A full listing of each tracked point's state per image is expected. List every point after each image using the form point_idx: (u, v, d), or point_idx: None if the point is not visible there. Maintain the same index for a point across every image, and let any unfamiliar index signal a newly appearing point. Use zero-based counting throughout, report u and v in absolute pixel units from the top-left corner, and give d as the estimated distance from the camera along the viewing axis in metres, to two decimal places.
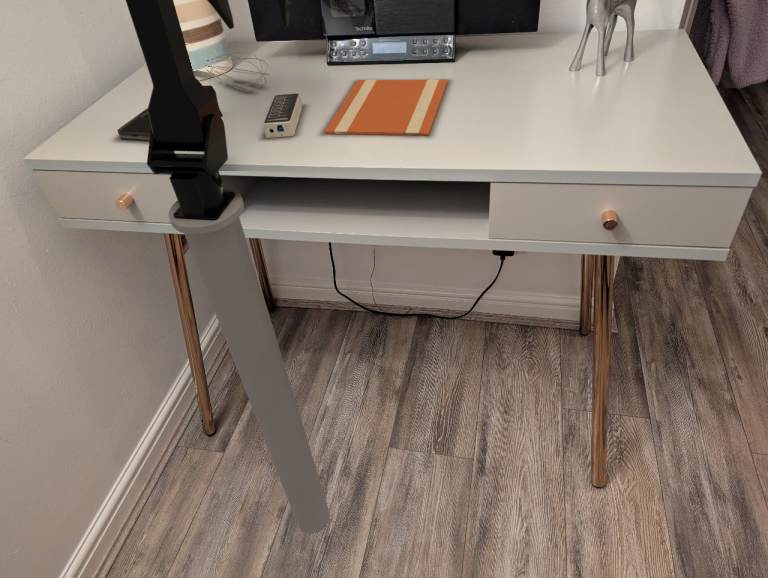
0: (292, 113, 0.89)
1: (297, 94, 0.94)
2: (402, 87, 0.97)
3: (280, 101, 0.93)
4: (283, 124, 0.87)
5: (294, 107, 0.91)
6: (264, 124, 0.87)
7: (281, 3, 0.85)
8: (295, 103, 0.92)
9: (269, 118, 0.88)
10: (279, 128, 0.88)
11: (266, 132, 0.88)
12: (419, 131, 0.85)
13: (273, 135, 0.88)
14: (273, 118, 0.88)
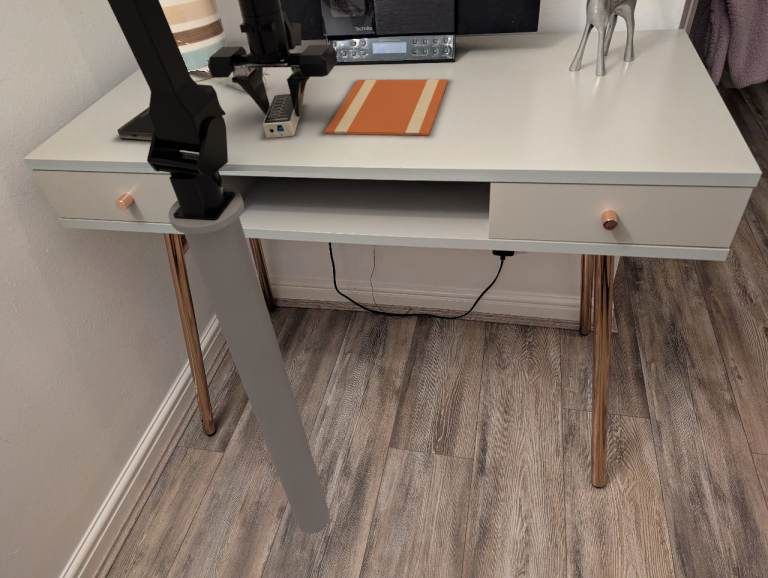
0: (292, 113, 0.89)
1: None
2: (402, 87, 0.97)
3: (280, 101, 0.93)
4: (283, 124, 0.87)
5: None
6: (264, 124, 0.87)
7: (294, 96, 0.87)
8: None
9: (269, 118, 0.88)
10: (279, 128, 0.88)
11: (266, 132, 0.88)
12: (419, 131, 0.85)
13: (273, 135, 0.88)
14: (273, 118, 0.88)
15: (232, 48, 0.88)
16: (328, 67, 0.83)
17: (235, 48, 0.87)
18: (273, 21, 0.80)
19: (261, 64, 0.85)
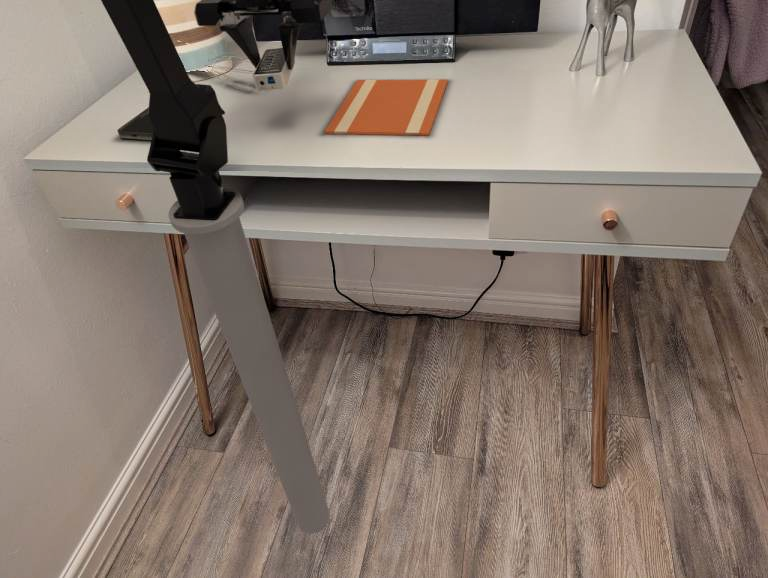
0: (284, 65, 0.84)
1: None
2: (402, 87, 0.97)
3: (271, 55, 0.88)
4: (274, 75, 0.82)
5: None
6: (254, 76, 0.82)
7: (286, 46, 0.82)
8: None
9: (259, 70, 0.83)
10: (270, 80, 0.83)
11: (256, 84, 0.83)
12: (419, 131, 0.85)
13: (264, 88, 0.83)
14: (264, 70, 0.83)
15: None
16: (321, 13, 0.78)
17: None
18: None
19: (250, 11, 0.80)
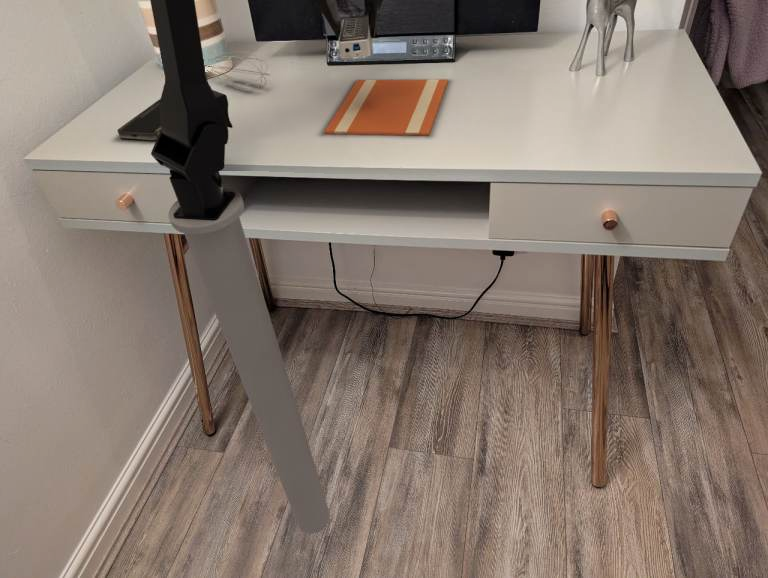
0: (368, 32, 0.83)
1: None
2: (402, 87, 0.97)
3: (351, 23, 0.87)
4: (360, 42, 0.81)
5: (368, 27, 0.85)
6: (340, 43, 0.81)
7: (372, 13, 0.81)
8: (368, 24, 0.86)
9: (344, 37, 0.83)
10: (355, 47, 0.82)
11: (341, 52, 0.82)
12: (419, 131, 0.85)
13: (348, 55, 0.82)
14: (348, 37, 0.82)
15: None
16: None
17: None
18: None
19: None
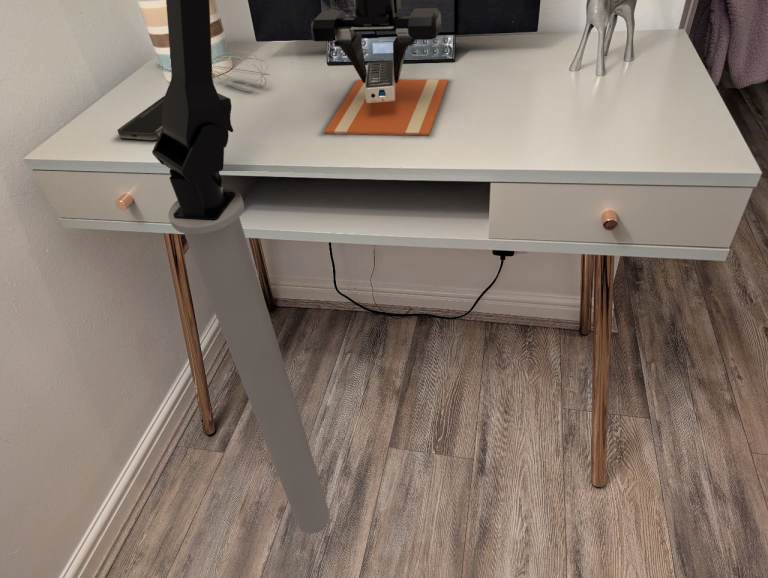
0: (392, 78, 0.88)
1: (391, 61, 0.93)
2: (402, 87, 0.97)
3: (376, 68, 0.92)
4: (386, 89, 0.86)
5: (393, 73, 0.90)
6: (366, 89, 0.86)
7: (397, 61, 0.86)
8: (392, 69, 0.91)
9: (370, 83, 0.87)
10: (381, 93, 0.87)
11: (367, 97, 0.87)
12: (419, 131, 0.85)
13: (374, 100, 0.87)
14: (374, 83, 0.87)
15: (334, 12, 0.87)
16: (436, 30, 0.82)
17: (337, 12, 0.86)
18: None
19: (366, 27, 0.84)
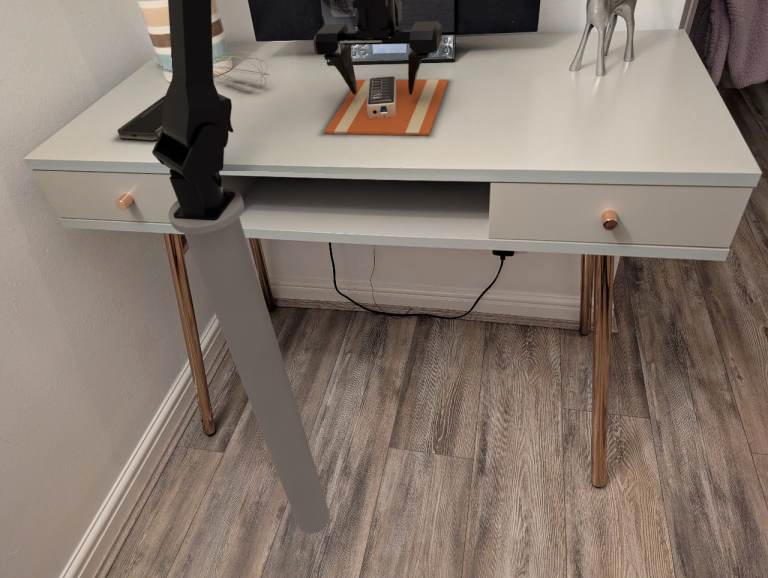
0: (394, 95, 0.90)
1: (393, 77, 0.95)
2: (402, 87, 0.97)
3: (377, 84, 0.94)
4: (387, 105, 0.88)
5: (394, 89, 0.91)
6: (368, 105, 0.88)
7: (412, 73, 0.87)
8: (394, 85, 0.92)
9: (372, 100, 0.89)
10: (382, 109, 0.88)
11: (369, 113, 0.89)
12: (419, 131, 0.85)
13: (376, 116, 0.89)
14: (376, 100, 0.89)
15: (336, 25, 0.88)
16: (437, 43, 0.83)
17: (339, 25, 0.88)
18: None
19: (355, 41, 0.86)
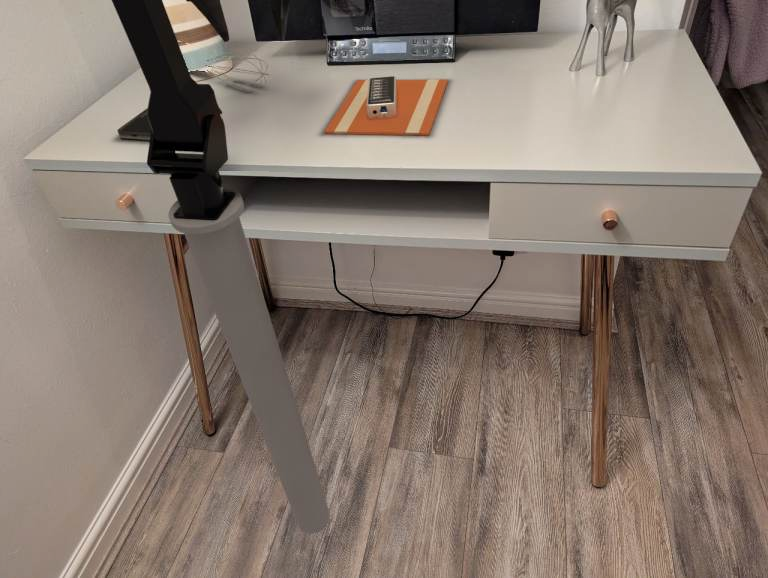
0: (394, 95, 0.90)
1: (393, 77, 0.95)
2: (402, 87, 0.97)
3: (377, 84, 0.94)
4: (387, 105, 0.88)
5: (394, 89, 0.91)
6: (368, 105, 0.88)
7: (276, 16, 0.82)
8: (394, 85, 0.92)
9: (372, 100, 0.89)
10: (382, 109, 0.88)
11: (369, 113, 0.89)
12: (419, 131, 0.85)
13: (376, 116, 0.89)
14: (376, 100, 0.89)
15: None
16: None
17: None
18: None
19: None
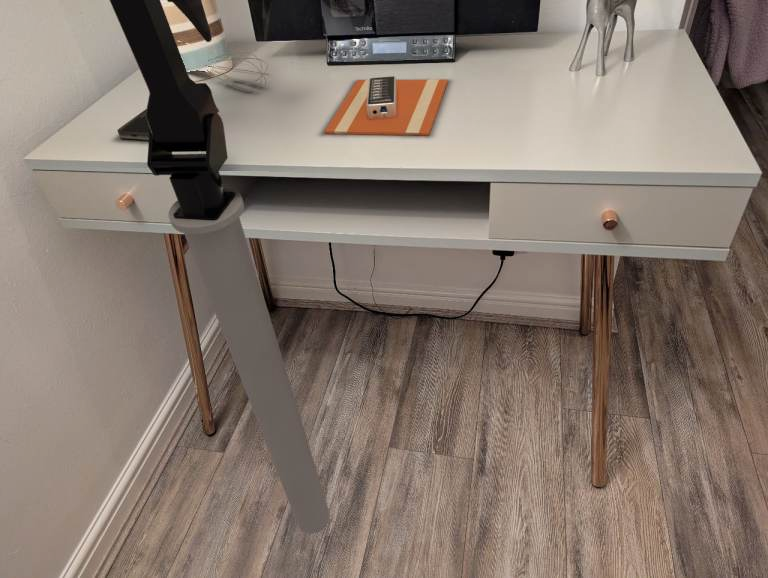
0: (394, 95, 0.90)
1: (393, 77, 0.95)
2: (402, 87, 0.97)
3: (377, 84, 0.94)
4: (387, 105, 0.88)
5: (394, 89, 0.91)
6: (368, 105, 0.88)
7: (258, 16, 0.82)
8: (394, 85, 0.92)
9: (372, 100, 0.89)
10: (382, 109, 0.88)
11: (369, 113, 0.89)
12: (419, 131, 0.85)
13: (376, 116, 0.89)
14: (376, 100, 0.89)
15: None
16: None
17: None
18: None
19: None
